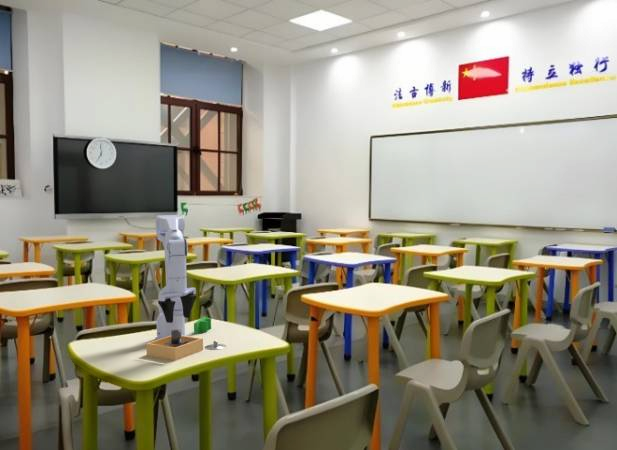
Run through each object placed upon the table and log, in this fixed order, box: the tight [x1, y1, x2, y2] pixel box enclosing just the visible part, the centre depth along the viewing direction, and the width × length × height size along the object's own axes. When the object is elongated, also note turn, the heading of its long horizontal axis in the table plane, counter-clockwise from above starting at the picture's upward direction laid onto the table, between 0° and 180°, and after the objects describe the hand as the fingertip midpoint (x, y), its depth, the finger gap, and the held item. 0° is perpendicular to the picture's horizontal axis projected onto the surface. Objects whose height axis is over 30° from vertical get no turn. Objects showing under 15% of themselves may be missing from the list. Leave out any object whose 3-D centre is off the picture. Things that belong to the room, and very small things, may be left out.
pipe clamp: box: [193, 316, 212, 335], centre depth 187 cm, size 11×4×5 cm, turn 173°
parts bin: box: [145, 335, 204, 361], centre depth 159 cm, size 12×12×4 cm
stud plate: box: [204, 340, 227, 351], centre depth 164 cm, size 7×7×2 cm
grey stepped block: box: [165, 330, 188, 347], centre depth 158 cm, size 5×5×7 cm
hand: (178, 319), depth 160 cm, fingers open, 7 cm apart
